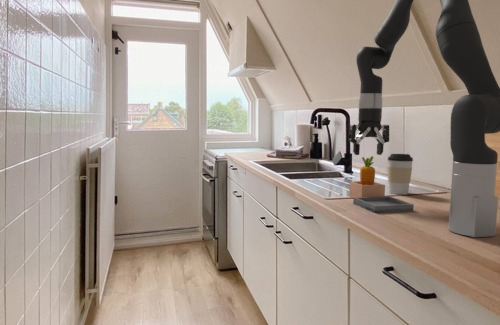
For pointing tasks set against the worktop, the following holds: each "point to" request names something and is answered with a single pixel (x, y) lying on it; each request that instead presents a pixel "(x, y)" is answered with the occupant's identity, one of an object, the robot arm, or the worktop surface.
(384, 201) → the charcoal tray
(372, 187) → the terracotta open box
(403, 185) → the coffee cup
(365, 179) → the carrot
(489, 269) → the worktop surface
